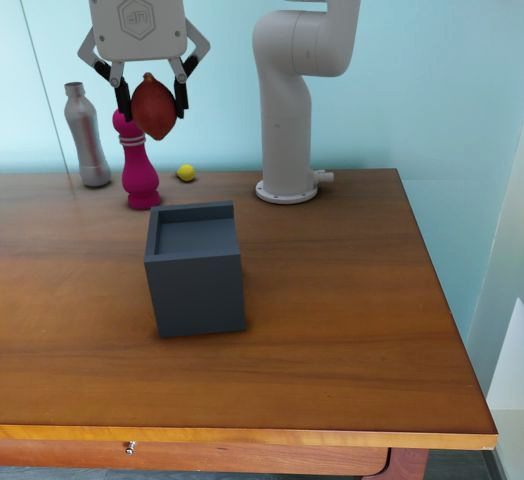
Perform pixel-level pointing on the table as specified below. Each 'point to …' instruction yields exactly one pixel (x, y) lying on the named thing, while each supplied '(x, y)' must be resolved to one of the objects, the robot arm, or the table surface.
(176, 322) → the blue storage bin
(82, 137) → the plastic bottle
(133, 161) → the pepper mill
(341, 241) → the table surface
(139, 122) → the onion
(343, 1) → the robot arm
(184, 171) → the yellow rounded piece
